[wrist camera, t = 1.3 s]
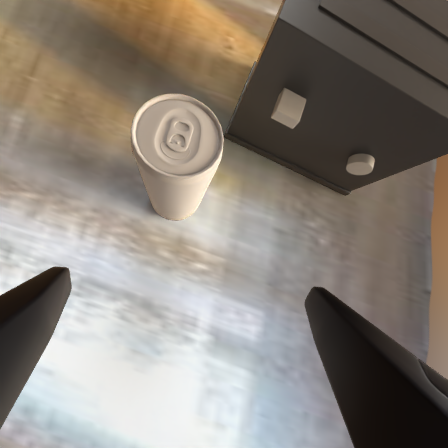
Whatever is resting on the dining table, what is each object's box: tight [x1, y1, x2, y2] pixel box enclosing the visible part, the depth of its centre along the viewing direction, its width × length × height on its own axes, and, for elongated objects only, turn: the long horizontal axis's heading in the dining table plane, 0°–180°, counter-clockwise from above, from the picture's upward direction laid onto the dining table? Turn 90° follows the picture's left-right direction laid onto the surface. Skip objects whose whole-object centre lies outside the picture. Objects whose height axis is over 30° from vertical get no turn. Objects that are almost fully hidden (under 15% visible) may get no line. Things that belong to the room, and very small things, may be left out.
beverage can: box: [131, 94, 224, 221], centre depth 17 cm, size 5×5×12 cm
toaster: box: [224, 0, 448, 195], centre depth 21 cm, size 12×16×13 cm
